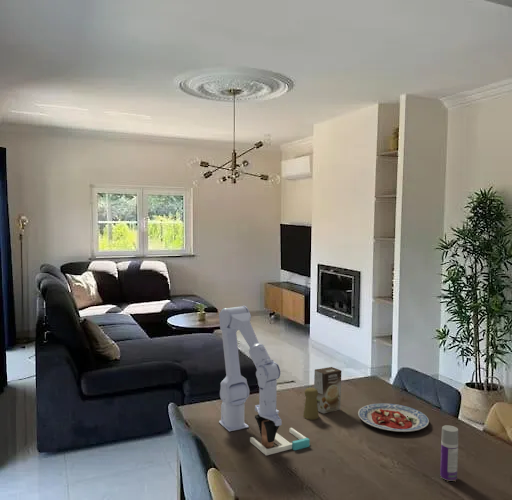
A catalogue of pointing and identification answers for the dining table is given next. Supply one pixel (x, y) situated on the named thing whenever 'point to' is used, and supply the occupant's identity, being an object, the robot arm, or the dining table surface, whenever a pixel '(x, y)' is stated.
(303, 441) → the slot rack
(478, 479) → the dining table surface
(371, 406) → the ceramic plate
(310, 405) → the olive yellow shaker
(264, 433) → the peg
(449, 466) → the container
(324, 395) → the coffee box
